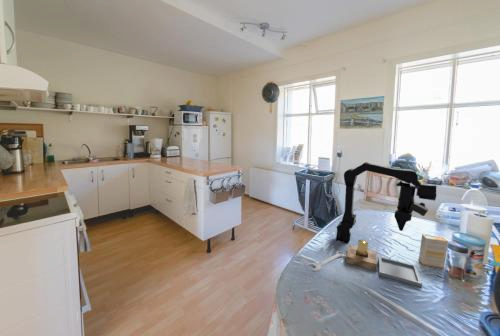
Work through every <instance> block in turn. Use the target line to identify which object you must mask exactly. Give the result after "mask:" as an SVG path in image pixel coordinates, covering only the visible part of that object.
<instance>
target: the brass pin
mask: <svg viewBox="0 0 500 336" xmlns="http://www.w3.org/2000/svg"><path fill="white" fill-rule="evenodd" d="M357 247H358V250H357V255H358V256H362V257H366V258H367V249H368V248H369V242H368V241H367V240H366V239H365V240H364V239H358V243H357ZM368 250H369V249H368Z"/></svg>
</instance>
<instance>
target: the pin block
mask: <svg viewBox="0 0 500 336" xmlns="http://www.w3.org/2000/svg"><path fill="white" fill-rule="evenodd" d="M357 250H358V246H356V245H350V244H349V245H348V250H347V253H346V254H347V256H346V261H345V262H346V263H347V264H350V265H354V266H358V267H362V268H366V269H369V270H373V271H377V269H378V256H377V251H375V250H371V249H367V258H366V257H362V256H358V255H357Z"/></svg>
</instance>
